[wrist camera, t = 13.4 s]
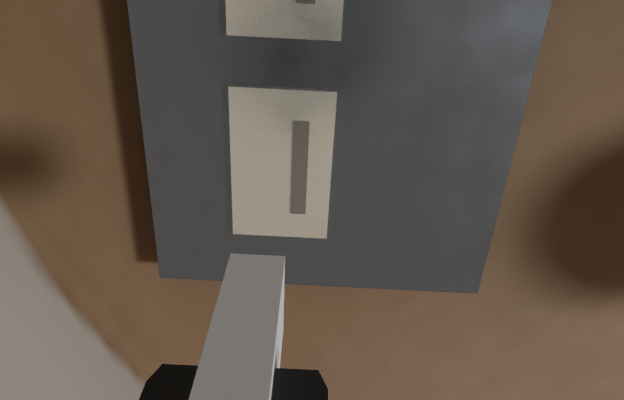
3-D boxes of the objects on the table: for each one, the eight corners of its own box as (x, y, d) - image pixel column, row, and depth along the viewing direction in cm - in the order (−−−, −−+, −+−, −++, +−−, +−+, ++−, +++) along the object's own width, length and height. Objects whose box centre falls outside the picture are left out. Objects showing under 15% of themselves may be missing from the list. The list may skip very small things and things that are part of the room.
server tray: (107, -303, 16) (65, -350, 13) (602, -275, 16) (657, -316, 14) (167, 260, 26) (150, 296, 24) (469, 275, 27) (486, 313, 24)
